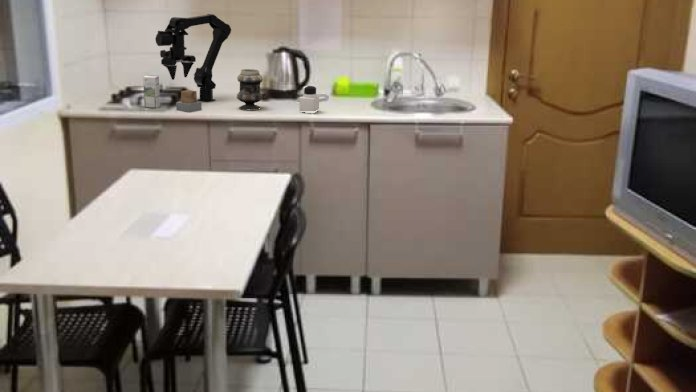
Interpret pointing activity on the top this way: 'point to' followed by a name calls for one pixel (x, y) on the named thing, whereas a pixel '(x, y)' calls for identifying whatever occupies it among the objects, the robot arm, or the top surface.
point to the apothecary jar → (249, 88)
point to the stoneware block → (188, 106)
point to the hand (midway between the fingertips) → (179, 78)
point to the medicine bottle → (309, 99)
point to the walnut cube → (188, 96)
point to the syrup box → (151, 91)
